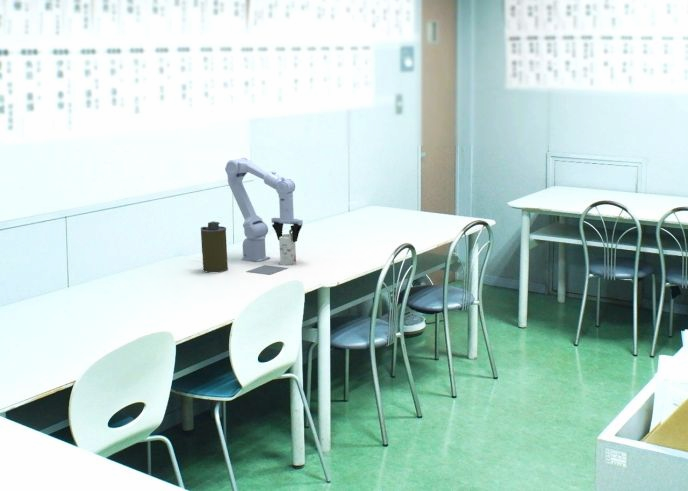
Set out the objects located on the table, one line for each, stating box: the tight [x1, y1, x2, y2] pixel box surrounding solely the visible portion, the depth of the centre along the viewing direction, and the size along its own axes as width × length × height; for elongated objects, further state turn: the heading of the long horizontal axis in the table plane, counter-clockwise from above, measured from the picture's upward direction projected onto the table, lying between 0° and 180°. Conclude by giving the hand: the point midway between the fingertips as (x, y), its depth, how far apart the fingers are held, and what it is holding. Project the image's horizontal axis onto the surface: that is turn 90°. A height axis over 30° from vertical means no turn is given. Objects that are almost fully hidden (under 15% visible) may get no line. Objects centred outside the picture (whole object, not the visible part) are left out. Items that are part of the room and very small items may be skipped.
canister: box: [200, 221, 229, 273], centre depth 405 cm, size 11×10×20 cm
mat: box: [245, 264, 289, 276], centre depth 405 cm, size 12×13×1 cm
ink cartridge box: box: [278, 228, 297, 266], centre depth 416 cm, size 9×5×15 cm, turn 168°
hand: (287, 240), depth 415 cm, fingers open, 7 cm apart
